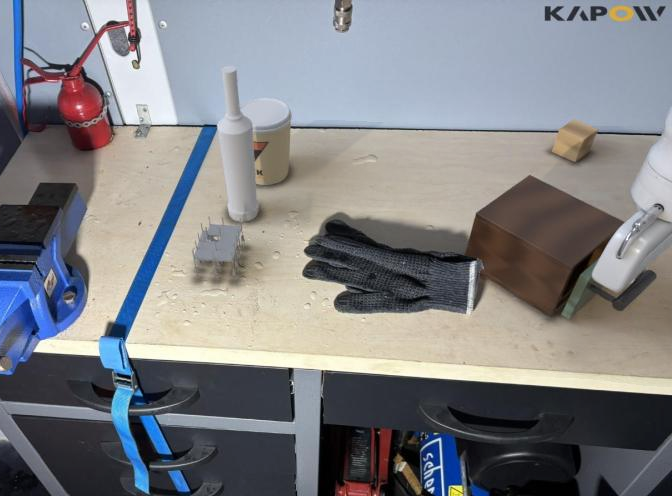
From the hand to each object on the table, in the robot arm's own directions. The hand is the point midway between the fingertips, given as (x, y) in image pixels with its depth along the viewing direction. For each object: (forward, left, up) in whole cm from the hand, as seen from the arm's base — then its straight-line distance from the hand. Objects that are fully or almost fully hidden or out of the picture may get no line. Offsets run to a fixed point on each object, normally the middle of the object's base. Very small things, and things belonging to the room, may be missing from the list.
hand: (630, 275), depth 77 cm
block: (-30, -24, -8) cm, 39 cm away
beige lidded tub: (+13, -57, -8) cm, 59 cm away
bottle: (+23, -51, -8) cm, 57 cm away
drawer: (0, -7, -7) cm, 10 cm away
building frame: (+33, -44, -8) cm, 56 cm away
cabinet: (0, -12, -8) cm, 14 cm away
